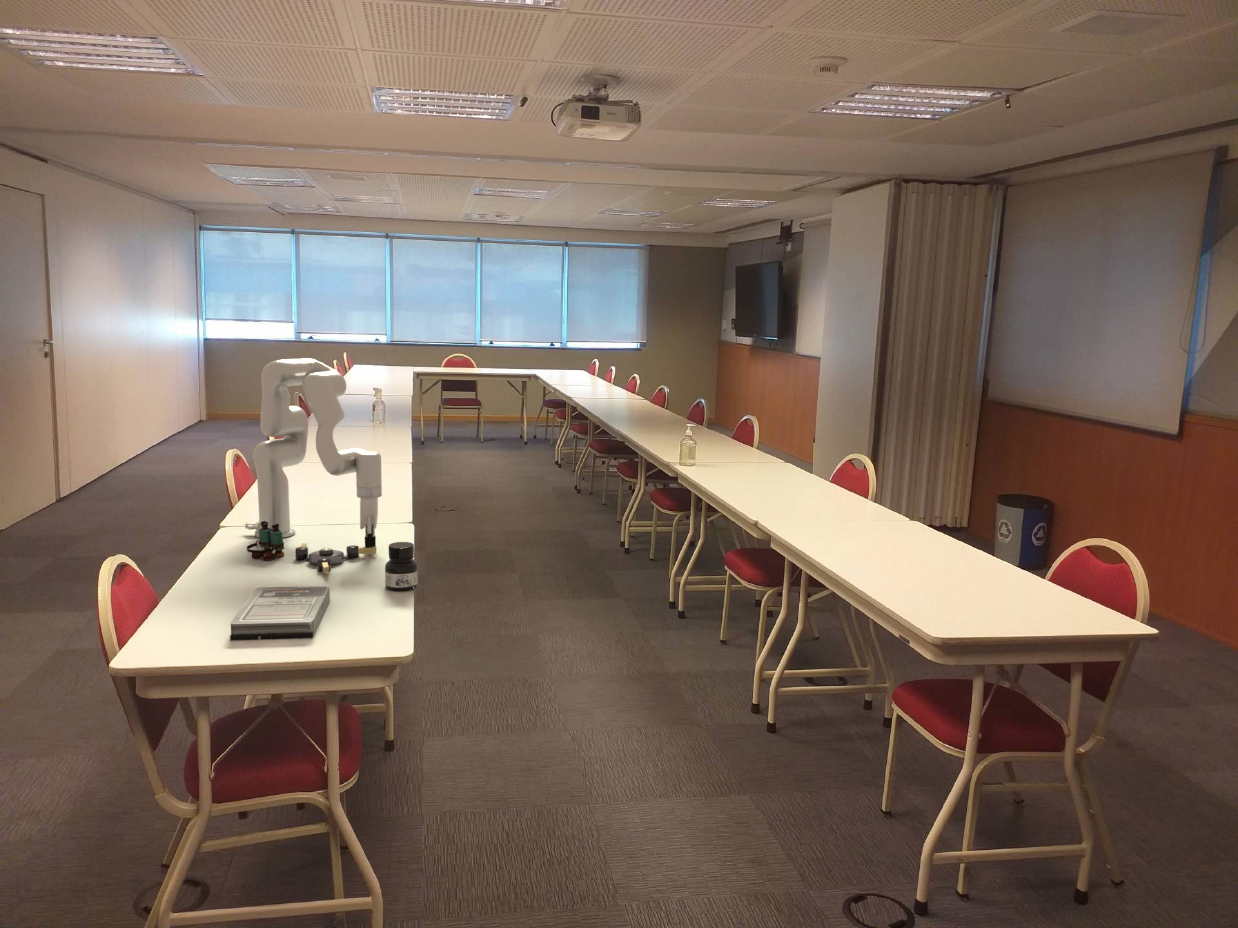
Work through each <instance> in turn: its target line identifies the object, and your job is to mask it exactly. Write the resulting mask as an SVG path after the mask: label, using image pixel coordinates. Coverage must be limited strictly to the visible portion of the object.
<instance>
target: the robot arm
mask: <svg viewBox="0 0 1238 928" xmlns="http://www.w3.org/2000/svg"><path fill="white" fill-rule="evenodd" d="M260 376H261V377H260V382H261V383H260V384H261V390H262V392H261V393H262V394H261V395H262V396H261V406H260V419H259V420H260V423H259V424H260V431H261V433H262V434H263V435H264V436H266V437H269V438H275V439H269V440H264V441H262V442H259V443H258V444H257V445H256V446H255V447H254V449H253V452H252V458H253V462H254V467H255V471H256V480H257V501H258V521H255V522H245V525H244V527H245V529H247V530H250V531H251V530H255V531H254V536H255V537H256V538H259V529H261V528H262V526H261V522H262V521H266V522H268V528H272V525H275V524H279V527H278V528H279V530H281V532H282V538H288V537H292V536H294V535H295V534H296V529H295V528H294V527H291V523H290V522H291V520H290V517H291V516H290V515H291V514H290V491H289V490H290V489H289V485H290V484H289V479H288V477H287V474H286V473H285V471H284V469H283V468H286V467H292V466H297V465H299V464H301V463H302V462H303V461H304V459H305V457H306V454H307V453H306V452H307V446H308V445H307V443H308V435H309V434H308V433H309V420H308V415H307V413H306V412H305V410H304V409H303V408H301V407H300V406H298V405H290V404H291V394H290V392H289V389H288V388H287V387H292V386H293V387H295V386H296V387H297V386H301V387H302V391H303V392H304V394H305V397H306V400H307V401H308V404H309V407H310V409H311V410H312V413H313V415H314V418H315V419H316V423H317V425H318V426H317V429H316V435H315V449H316V453H317V455H318V457H319V461H320V462H321V463H322V466H323V467H324V469H325V471H326V472H327V473H328V474H330V475H332V476H344V475H349V474H353V473H354V474H355V475H356V476H355V477H356V482H355V483H356V484H355V485H356V497H357V498H358V499H359V529H360V530H363V529H364V532H365V533H364V534H365V535H364V547H376V548H377V546H376V544H377V543H376V542H377V539H376V537H377V536H376V534H375V532H376V531H375V530H376V529H377V525H378V515H379V498H381V497H383V492H382V491H383V487H382V486H383V485H382V481H383V480H382V456H381V454H380V453H379V452H378V451H371V450H370V451H369V450H368V451H367V450H365V449H363V448H359V447H351V448H347V449H339V450H338V447H337V446H336V444H335V442H334V435H333V434H334V430H335V428H336V426H337V425H339V424H340V423H341V422H342V421H343V420H344V418H345V413H344V410H343V408H342V405H341V404H340V401H339V399H338V397H341V396H344V394H345V393H346V391H347V381H346V379H345V378H344V376H343V375H342V374H341V373H340V372H339V371H337V370H336V369H335V368H332V367H330V366H328V365H326V364H324V363H323V362H320V361H318V360H316V359H314V358H309V357H307V358H306V357H305V358H287V359H286V358H285V359H277V360H274V361H271V362H269V363H267V364H265V365H264V367H263V369H262V372H261V375H260ZM276 437H278V438H276ZM279 437H283V438H279ZM272 529H273V528H272Z"/></svg>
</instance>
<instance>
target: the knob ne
mask: <svg viewBox="0 0 1238 928" xmlns="http://www.w3.org/2000/svg"><path fill="white" fill-rule="evenodd" d="M369 554H370V555H371V554H372V555H373V554H377V546H376V547H365V546H359V545H356V544H355V545H346V555H347V556H348V559H349V560H356V559H359V558H360V555H369ZM348 559H347V560H348Z"/></svg>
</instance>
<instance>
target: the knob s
mask: <svg viewBox="0 0 1238 928" xmlns="http://www.w3.org/2000/svg"><path fill="white" fill-rule="evenodd" d="M317 565H318V567H317V572H319V573H323V574H330V571H331V569H332V568H331V567H332V566H331V564H330V558H319V559H317Z"/></svg>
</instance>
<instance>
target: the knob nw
mask: <svg viewBox="0 0 1238 928" xmlns="http://www.w3.org/2000/svg"><path fill="white" fill-rule="evenodd" d="M307 544H308V543H306V542H305V543H301V544H300V546H298V547H296V548H295V560H296V561H299V562H301V561H302V562H304V561H306V557H308V556H309V548H308V546H307Z"/></svg>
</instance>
